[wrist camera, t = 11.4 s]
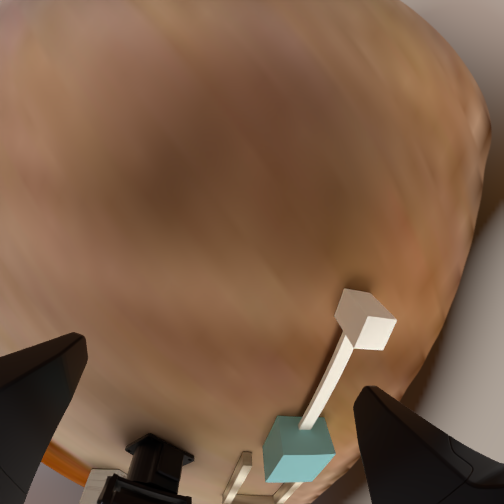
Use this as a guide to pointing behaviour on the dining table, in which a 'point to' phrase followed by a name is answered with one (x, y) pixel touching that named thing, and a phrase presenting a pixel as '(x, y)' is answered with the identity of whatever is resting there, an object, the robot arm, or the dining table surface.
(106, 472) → the supplement box
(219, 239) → the dining table surface
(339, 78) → the dining table surface
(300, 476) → the teal and white dumbbell
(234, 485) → the beige u-shaped frame
